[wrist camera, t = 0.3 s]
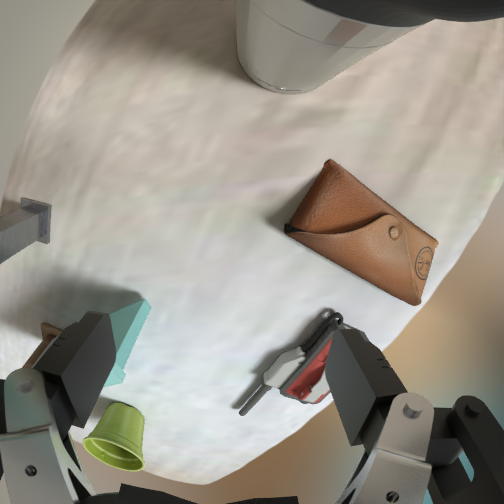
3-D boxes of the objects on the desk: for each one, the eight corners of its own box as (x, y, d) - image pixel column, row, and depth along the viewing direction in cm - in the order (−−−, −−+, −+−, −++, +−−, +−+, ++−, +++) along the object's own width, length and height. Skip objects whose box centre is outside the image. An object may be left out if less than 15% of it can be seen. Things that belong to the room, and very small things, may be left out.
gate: (63, 344, 31) (26, 401, 21) (55, 334, 30) (15, 389, 20) (153, 309, 29) (122, 382, 19) (145, 295, 29) (107, 366, 18)
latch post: (24, 197, 25) (-56, 233, 13) (51, 205, 26) (-32, 246, 13) (23, 233, 26) (-50, 279, 14) (49, 242, 27) (-24, 295, 15)
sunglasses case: (443, 240, 29) (456, 285, 25) (403, 270, 34) (409, 314, 30) (325, 153, 25) (324, 194, 21) (287, 201, 30) (278, 246, 26)
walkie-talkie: (318, 298, 31) (233, 405, 37) (329, 321, 27) (233, 429, 33) (373, 325, 33) (285, 419, 39) (387, 346, 29) (289, 442, 35)
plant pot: (124, 432, 39) (113, 471, 31) (88, 398, 36) (70, 438, 28) (166, 426, 38) (157, 470, 30) (129, 389, 35) (112, 436, 27)
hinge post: (42, 322, 31) (-18, 398, 16) (65, 332, 31) (9, 416, 17) (46, 343, 32) (-6, 419, 18) (68, 353, 33) (19, 435, 18)
